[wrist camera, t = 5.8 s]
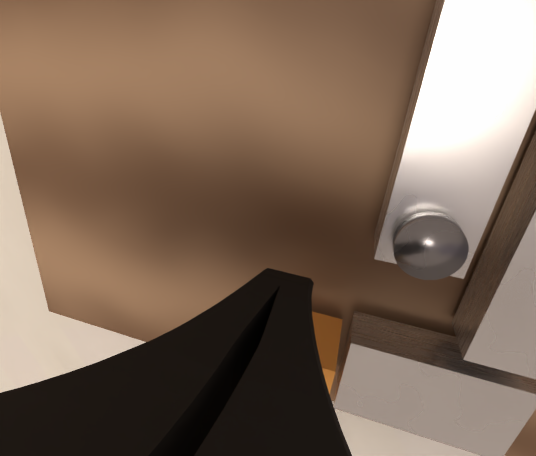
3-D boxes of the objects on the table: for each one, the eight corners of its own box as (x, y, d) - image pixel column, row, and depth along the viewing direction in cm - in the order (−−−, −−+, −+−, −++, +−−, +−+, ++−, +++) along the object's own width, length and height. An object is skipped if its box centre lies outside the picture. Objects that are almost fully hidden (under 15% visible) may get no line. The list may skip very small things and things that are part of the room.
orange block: (327, 378, 13) (319, 435, 11) (269, 360, 14) (250, 412, 12) (342, 319, 12) (335, 371, 10) (277, 302, 12) (257, 348, 10)
